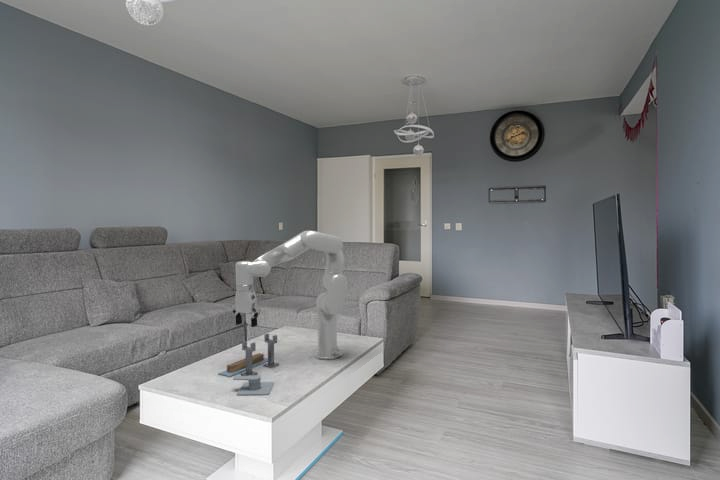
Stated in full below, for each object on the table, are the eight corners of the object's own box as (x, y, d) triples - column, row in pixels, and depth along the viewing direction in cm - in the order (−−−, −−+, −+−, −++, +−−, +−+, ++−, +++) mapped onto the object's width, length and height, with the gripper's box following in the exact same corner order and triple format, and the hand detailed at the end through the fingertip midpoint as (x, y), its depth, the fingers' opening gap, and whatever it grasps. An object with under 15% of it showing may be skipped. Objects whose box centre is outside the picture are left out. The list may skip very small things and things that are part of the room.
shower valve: (237, 371, 172) (274, 371, 172) (238, 384, 172) (274, 384, 173) (229, 382, 160) (268, 382, 160) (229, 397, 160) (268, 396, 160)
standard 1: (258, 374, 182) (257, 341, 182) (250, 378, 178) (249, 344, 177) (248, 372, 185) (247, 340, 185) (239, 375, 181) (239, 342, 180)
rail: (263, 360, 200) (263, 354, 200) (231, 373, 183) (231, 366, 183) (259, 359, 201) (258, 353, 201) (227, 371, 184) (226, 365, 184)
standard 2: (279, 365, 194) (279, 334, 194) (272, 368, 190) (272, 337, 189) (269, 363, 197) (269, 332, 197) (262, 366, 193) (262, 335, 192)
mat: (271, 360, 202) (271, 359, 202) (229, 377, 179) (229, 376, 179) (260, 358, 205) (260, 356, 205) (218, 374, 183) (218, 373, 183)
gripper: (264, 288, 190) (266, 325, 191) (237, 286, 198) (239, 321, 199) (252, 290, 183) (254, 329, 184) (225, 288, 192) (226, 325, 193)
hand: (246, 325), depth 192 cm, fingers open, 9 cm apart
